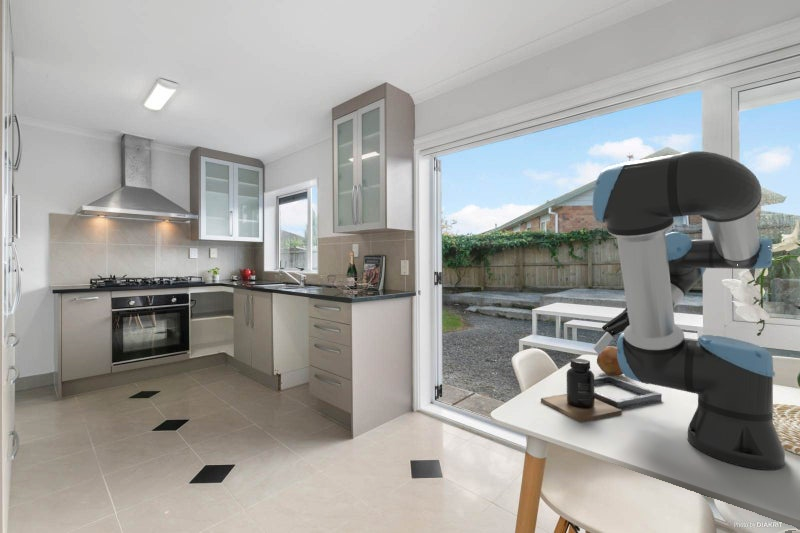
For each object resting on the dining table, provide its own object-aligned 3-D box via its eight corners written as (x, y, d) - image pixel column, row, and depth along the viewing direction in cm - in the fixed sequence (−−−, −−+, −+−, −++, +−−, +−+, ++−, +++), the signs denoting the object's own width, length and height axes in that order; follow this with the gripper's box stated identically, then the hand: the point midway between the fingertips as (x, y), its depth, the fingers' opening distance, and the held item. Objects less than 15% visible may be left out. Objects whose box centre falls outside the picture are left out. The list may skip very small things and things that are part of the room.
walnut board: (621, 414, 94) (621, 410, 94) (580, 422, 90) (580, 418, 90) (578, 395, 107) (578, 391, 107) (540, 401, 103) (540, 398, 103)
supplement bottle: (597, 403, 98) (597, 360, 98) (590, 411, 93) (590, 365, 93) (571, 397, 103) (571, 355, 103) (562, 404, 98) (563, 360, 98)
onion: (634, 380, 120) (634, 350, 120) (601, 378, 122) (601, 349, 122) (623, 371, 129) (623, 344, 129) (593, 370, 131) (593, 342, 131)
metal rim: (661, 400, 103) (661, 393, 103) (617, 409, 97) (617, 402, 97) (608, 381, 119) (608, 375, 119) (567, 388, 113) (567, 381, 113)
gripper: (710, 316, 91) (656, 381, 90) (634, 303, 115) (590, 353, 113) (692, 297, 90) (638, 361, 88) (619, 287, 114) (575, 338, 112)
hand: (611, 357), depth 101 cm, fingers open, 11 cm apart
